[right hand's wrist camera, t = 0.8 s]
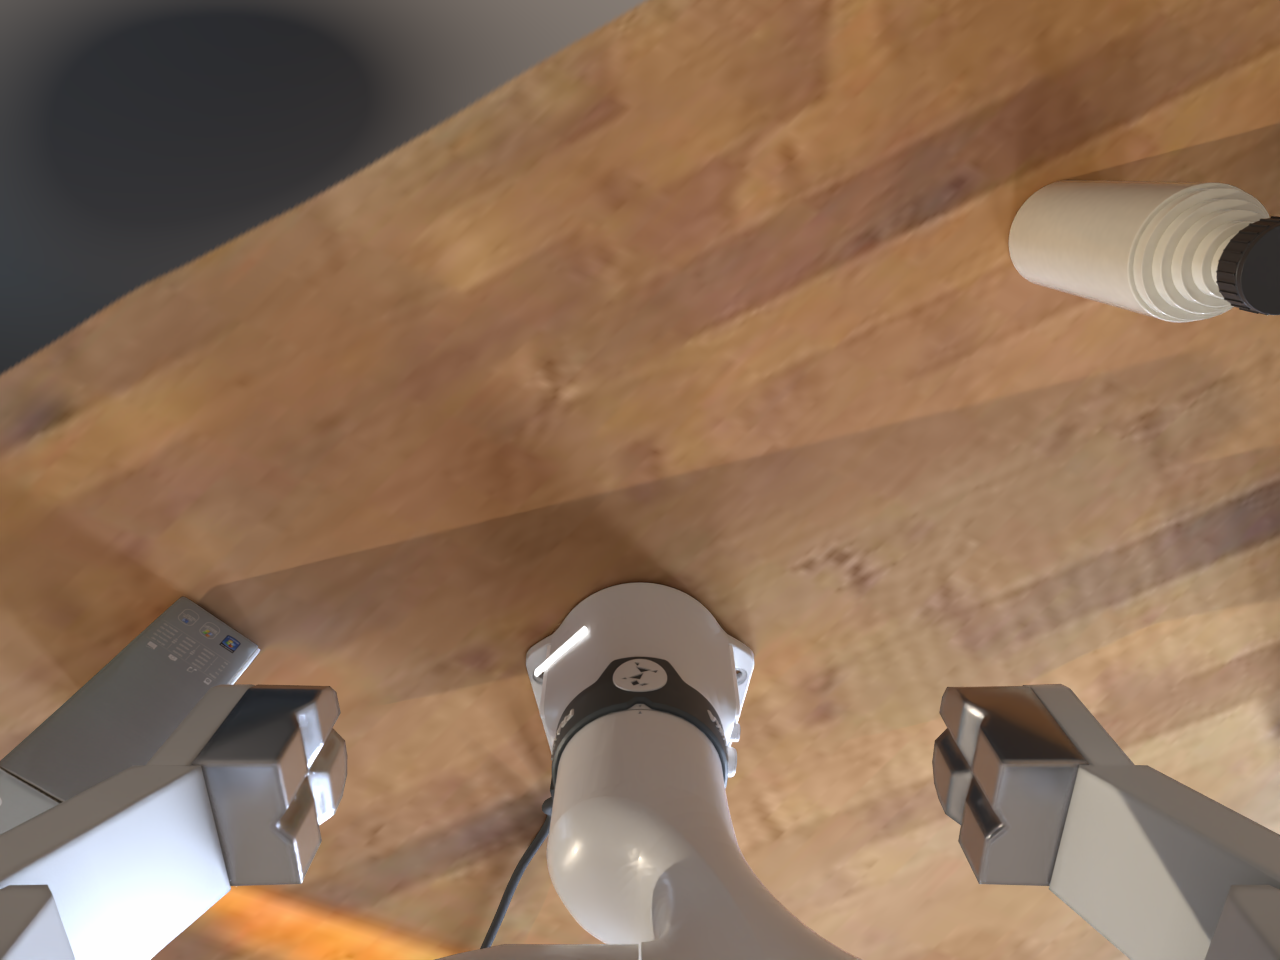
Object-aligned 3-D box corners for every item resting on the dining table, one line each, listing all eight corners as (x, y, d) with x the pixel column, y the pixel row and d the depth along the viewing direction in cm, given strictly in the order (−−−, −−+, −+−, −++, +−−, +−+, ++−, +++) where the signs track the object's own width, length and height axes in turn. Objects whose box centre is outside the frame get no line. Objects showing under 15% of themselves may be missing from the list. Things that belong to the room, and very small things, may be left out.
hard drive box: (182, 590, 64) (-4, 761, 46) (264, 645, 66) (117, 831, 47) (88, 710, 68) (-118, 911, 50) (168, 758, 70) (-3, 970, 52)
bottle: (1060, 157, 53) (1294, 149, 34) (1133, 220, 54) (1397, 246, 35) (986, 247, 55) (1168, 287, 36) (1059, 306, 56) (1271, 374, 37)
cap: (1267, 196, 36) (1296, 197, 34) (1328, 252, 37) (1359, 255, 35) (1194, 276, 37) (1219, 280, 35) (1255, 327, 38) (1282, 334, 36)
